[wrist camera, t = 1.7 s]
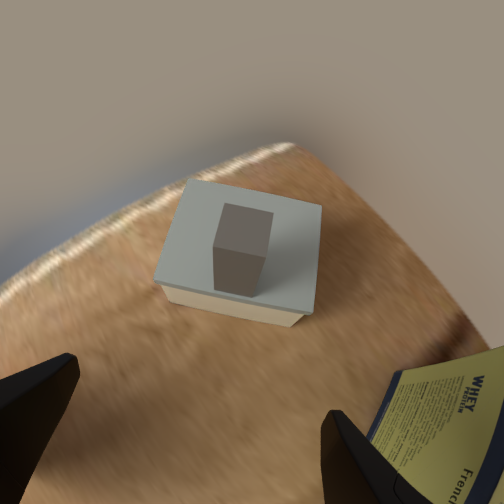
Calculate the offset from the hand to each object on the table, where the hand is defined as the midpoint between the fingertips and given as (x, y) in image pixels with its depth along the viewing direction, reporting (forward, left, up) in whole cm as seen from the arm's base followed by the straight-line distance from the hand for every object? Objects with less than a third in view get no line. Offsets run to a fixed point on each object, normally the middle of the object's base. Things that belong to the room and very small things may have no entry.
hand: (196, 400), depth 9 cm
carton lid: (+5, -9, -8) cm, 13 cm away
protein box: (-18, -5, -14) cm, 23 cm away
